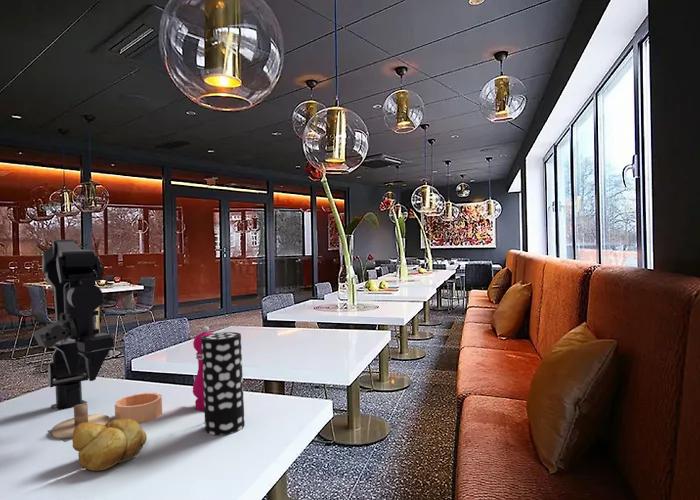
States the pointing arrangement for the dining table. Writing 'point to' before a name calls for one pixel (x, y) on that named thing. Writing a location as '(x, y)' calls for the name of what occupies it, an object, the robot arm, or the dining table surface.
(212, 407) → the white-spotted black cylinder
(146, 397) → the bowl
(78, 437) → the bread roll
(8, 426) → the dining table surface
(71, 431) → the lid
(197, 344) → the pepper mill
